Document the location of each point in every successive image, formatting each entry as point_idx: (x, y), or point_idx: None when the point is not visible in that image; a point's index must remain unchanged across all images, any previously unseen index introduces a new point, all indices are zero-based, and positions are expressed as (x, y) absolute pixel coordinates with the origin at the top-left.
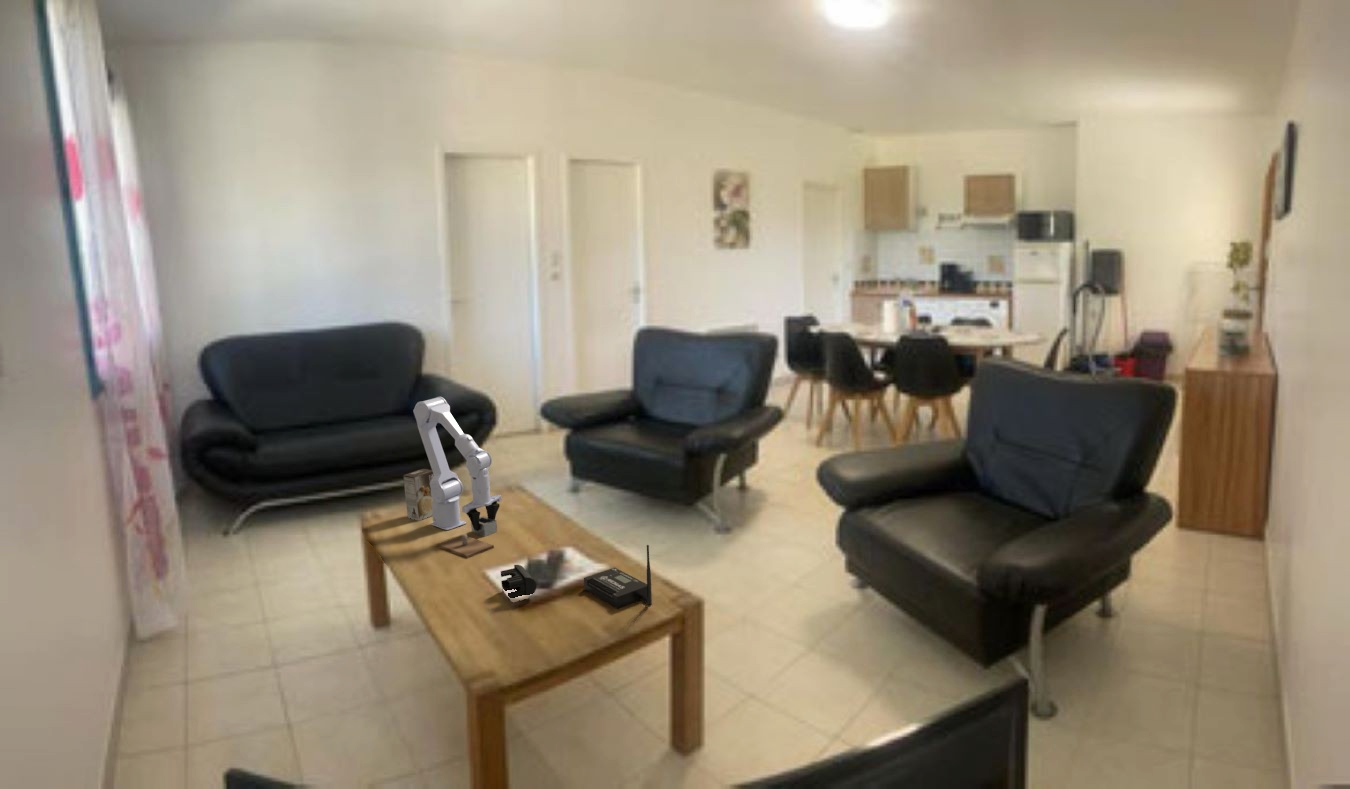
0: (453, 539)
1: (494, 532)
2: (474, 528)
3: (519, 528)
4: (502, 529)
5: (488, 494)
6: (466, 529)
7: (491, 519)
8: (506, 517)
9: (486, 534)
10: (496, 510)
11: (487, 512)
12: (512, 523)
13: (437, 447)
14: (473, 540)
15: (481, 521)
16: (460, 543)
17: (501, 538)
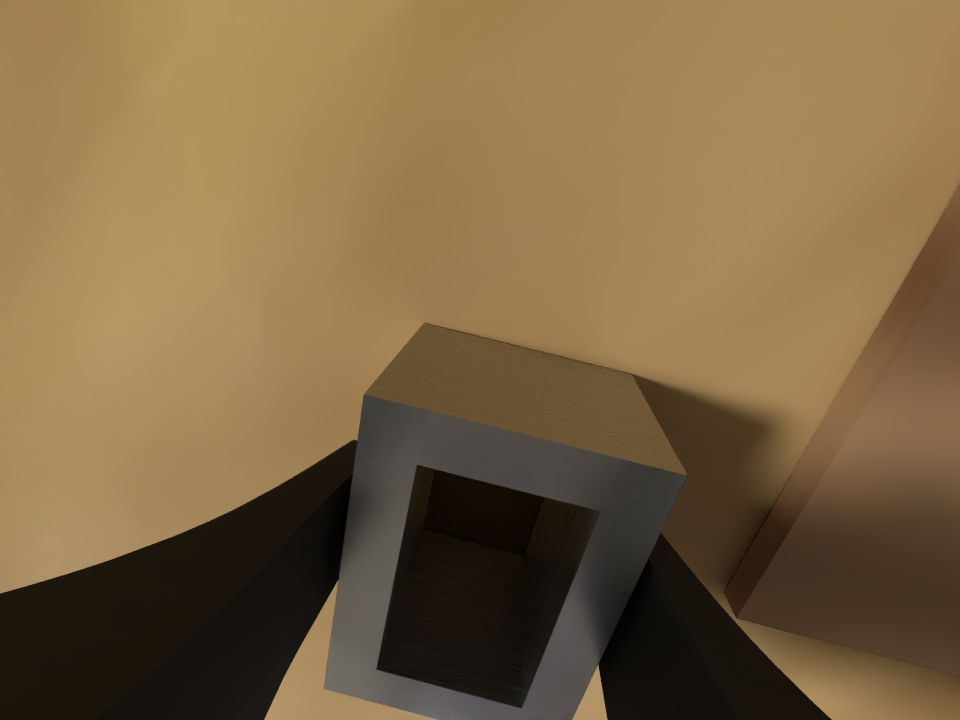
0: (932, 634)
1: (466, 334)
2: None
3: (156, 81)
4: (321, 308)
5: None
6: None
7: (370, 505)
8: (43, 495)
9: (603, 373)
10: (121, 585)
11: (265, 706)
12: (104, 320)
13: None
14: (950, 381)
15: (418, 622)
16: None
17: (630, 57)
